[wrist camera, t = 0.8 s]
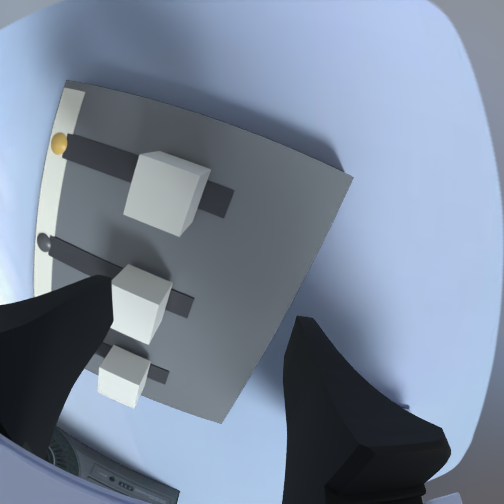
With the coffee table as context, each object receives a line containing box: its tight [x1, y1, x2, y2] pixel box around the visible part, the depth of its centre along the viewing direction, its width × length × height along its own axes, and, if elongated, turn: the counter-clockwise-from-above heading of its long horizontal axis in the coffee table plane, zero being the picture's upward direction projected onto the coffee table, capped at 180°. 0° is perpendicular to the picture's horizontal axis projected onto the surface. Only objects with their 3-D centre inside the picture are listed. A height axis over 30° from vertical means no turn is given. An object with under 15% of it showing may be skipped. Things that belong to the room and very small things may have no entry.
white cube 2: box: [110, 264, 173, 345], centre depth 17 cm, size 3×3×3 cm
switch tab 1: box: [98, 345, 151, 409], centre depth 19 cm, size 3×3×3 cm
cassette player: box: [45, 426, 180, 504], centre depth 23 cm, size 29×7×20 cm, turn 55°
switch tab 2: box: [123, 151, 211, 237], centre depth 14 cm, size 3×3×3 cm
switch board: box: [34, 80, 354, 424], centre depth 19 cm, size 18×22×2 cm
